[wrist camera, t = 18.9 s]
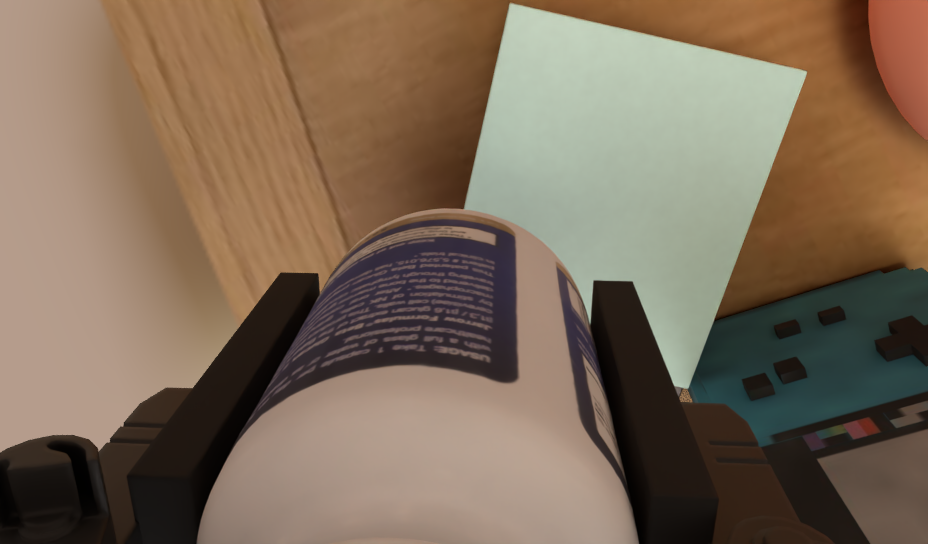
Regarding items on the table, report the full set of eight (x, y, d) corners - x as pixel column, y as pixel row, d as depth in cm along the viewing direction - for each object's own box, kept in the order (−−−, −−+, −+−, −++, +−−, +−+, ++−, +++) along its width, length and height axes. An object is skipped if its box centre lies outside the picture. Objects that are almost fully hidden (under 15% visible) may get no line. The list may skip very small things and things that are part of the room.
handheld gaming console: (919, 247, 27) (1349, 535, 13) (938, 343, 29) (1344, 696, 15) (656, 330, 29) (793, 660, 15) (684, 417, 30) (835, 793, 16)
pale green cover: (436, 329, 26) (431, 357, 24) (509, 2, 22) (509, 5, 20) (685, 383, 26) (699, 415, 24) (803, 69, 22) (830, 78, 20)
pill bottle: (276, 355, 16) (-32, 861, 7) (413, 147, 14) (242, 460, 5) (486, 481, 17) (462, 1077, 8) (641, 301, 15) (844, 802, 6)
